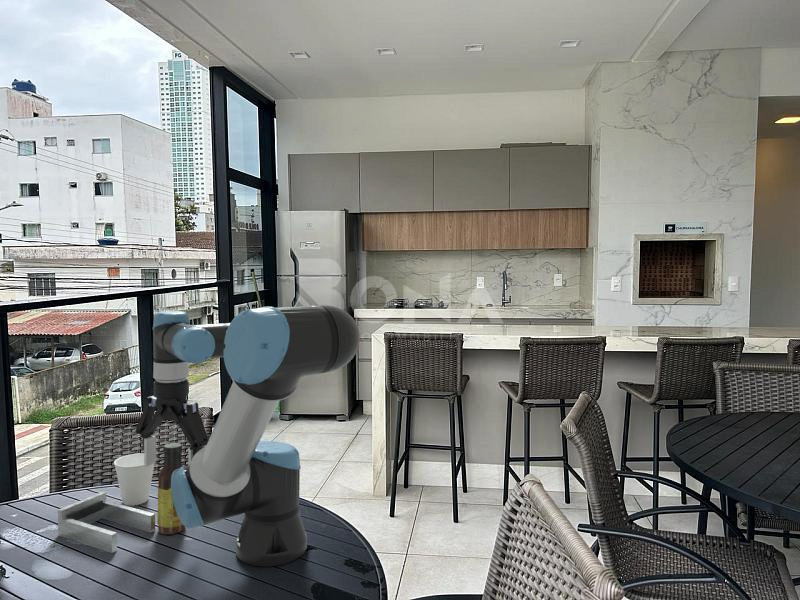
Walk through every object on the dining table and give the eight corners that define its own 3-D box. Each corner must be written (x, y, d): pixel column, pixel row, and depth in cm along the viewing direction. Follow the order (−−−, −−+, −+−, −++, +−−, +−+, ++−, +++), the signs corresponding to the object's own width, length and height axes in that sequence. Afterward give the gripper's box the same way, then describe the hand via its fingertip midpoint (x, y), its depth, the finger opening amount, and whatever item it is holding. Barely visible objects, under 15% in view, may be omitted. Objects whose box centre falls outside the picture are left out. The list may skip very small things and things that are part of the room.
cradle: (155, 530, 131) (154, 505, 131) (112, 553, 121) (111, 526, 121) (103, 515, 138) (102, 491, 138) (58, 535, 128) (57, 509, 128)
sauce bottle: (177, 537, 129) (176, 451, 127) (151, 534, 129) (151, 449, 128) (192, 524, 135) (191, 442, 134) (168, 521, 136) (167, 440, 135)
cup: (150, 490, 154) (149, 450, 153) (161, 503, 146) (161, 461, 145) (109, 499, 147) (109, 458, 147) (119, 513, 140) (119, 469, 139)
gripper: (225, 382, 128) (225, 473, 130) (145, 370, 138) (145, 455, 140) (201, 389, 121) (201, 485, 123) (118, 375, 132) (119, 465, 133)
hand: (171, 469), depth 131 cm, fingers open, 13 cm apart
